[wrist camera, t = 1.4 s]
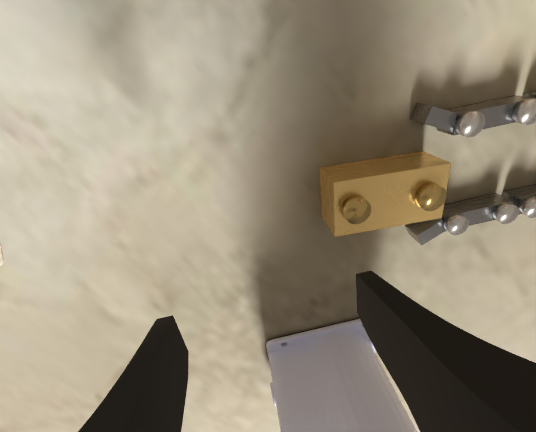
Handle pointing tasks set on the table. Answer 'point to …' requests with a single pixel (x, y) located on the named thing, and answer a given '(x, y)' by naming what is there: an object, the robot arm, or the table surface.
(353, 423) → the robot arm
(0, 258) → the milk
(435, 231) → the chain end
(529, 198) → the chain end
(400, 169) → the master link
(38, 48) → the table surface
